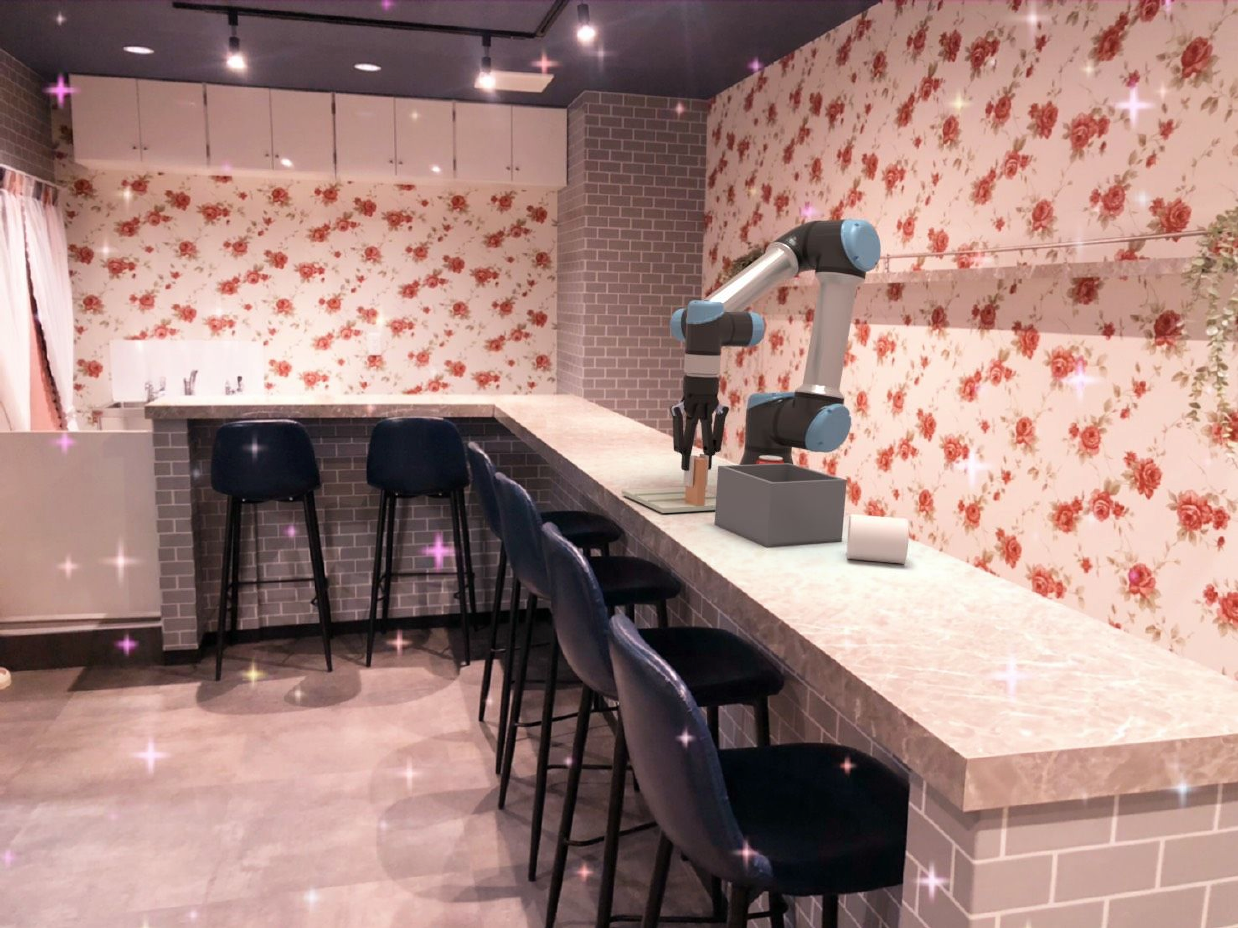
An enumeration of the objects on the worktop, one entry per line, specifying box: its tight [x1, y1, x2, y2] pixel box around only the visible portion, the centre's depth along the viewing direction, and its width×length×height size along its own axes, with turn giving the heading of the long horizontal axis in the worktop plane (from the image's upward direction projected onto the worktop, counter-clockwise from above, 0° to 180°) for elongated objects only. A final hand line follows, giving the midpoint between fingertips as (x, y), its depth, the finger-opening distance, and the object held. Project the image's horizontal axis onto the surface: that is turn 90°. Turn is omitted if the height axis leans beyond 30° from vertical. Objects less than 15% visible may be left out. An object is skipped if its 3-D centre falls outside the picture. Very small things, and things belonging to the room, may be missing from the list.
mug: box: [846, 513, 910, 565], centre depth 178 cm, size 12×10×8 cm
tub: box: [714, 463, 848, 548], centre depth 193 cm, size 17×19×12 cm
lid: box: [621, 455, 716, 514], centre depth 217 cm, size 18×20×12 cm
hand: (695, 484), depth 211 cm, fingers open, 3 cm apart
